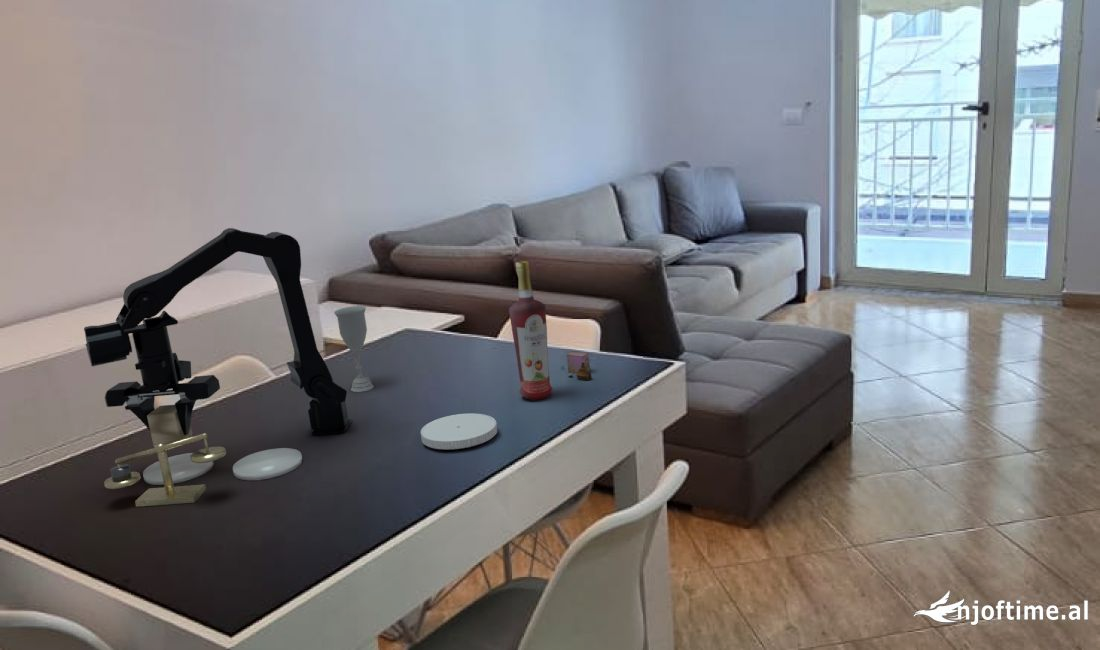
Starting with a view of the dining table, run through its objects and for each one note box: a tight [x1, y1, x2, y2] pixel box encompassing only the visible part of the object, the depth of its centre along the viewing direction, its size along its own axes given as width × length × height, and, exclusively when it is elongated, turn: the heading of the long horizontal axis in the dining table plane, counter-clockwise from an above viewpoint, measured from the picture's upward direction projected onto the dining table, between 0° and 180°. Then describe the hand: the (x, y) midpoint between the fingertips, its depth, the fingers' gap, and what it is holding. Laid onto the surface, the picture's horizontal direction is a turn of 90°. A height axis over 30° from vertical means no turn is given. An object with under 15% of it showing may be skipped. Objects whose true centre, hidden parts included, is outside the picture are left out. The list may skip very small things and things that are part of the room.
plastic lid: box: [420, 413, 498, 450], centre depth 171 cm, size 14×14×2 cm
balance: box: [103, 433, 227, 507], centre depth 156 cm, size 21×6×11 cm, turn 87°
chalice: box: [333, 305, 374, 393], centre depth 205 cm, size 7×7×18 cm
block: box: [147, 404, 194, 448], centre depth 167 cm, size 5×5×6 cm
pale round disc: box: [142, 452, 215, 486], centre depth 169 cm, size 12×12×1 cm
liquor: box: [508, 260, 554, 401], centre depth 186 cm, size 7×7×28 cm
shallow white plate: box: [232, 447, 303, 482], centre depth 167 cm, size 12×12×1 cm
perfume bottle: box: [566, 351, 592, 381], centre depth 201 cm, size 12×12×4 cm
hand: (172, 435), depth 167 cm, fingers closed on block, 5 cm apart
